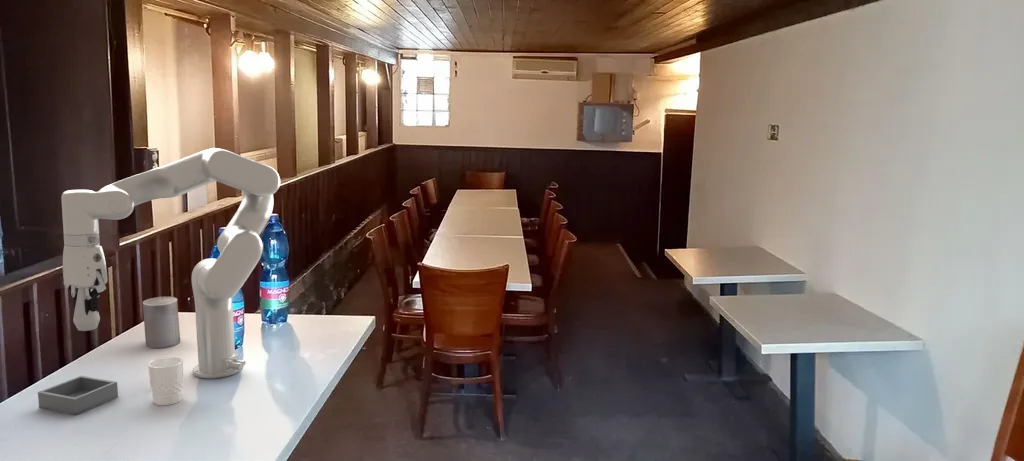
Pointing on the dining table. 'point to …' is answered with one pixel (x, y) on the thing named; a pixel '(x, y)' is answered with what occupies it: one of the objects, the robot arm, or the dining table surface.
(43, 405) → the box
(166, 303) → the pillar candle
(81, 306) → the salt shaker
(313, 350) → the dining table surface
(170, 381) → the white cup
